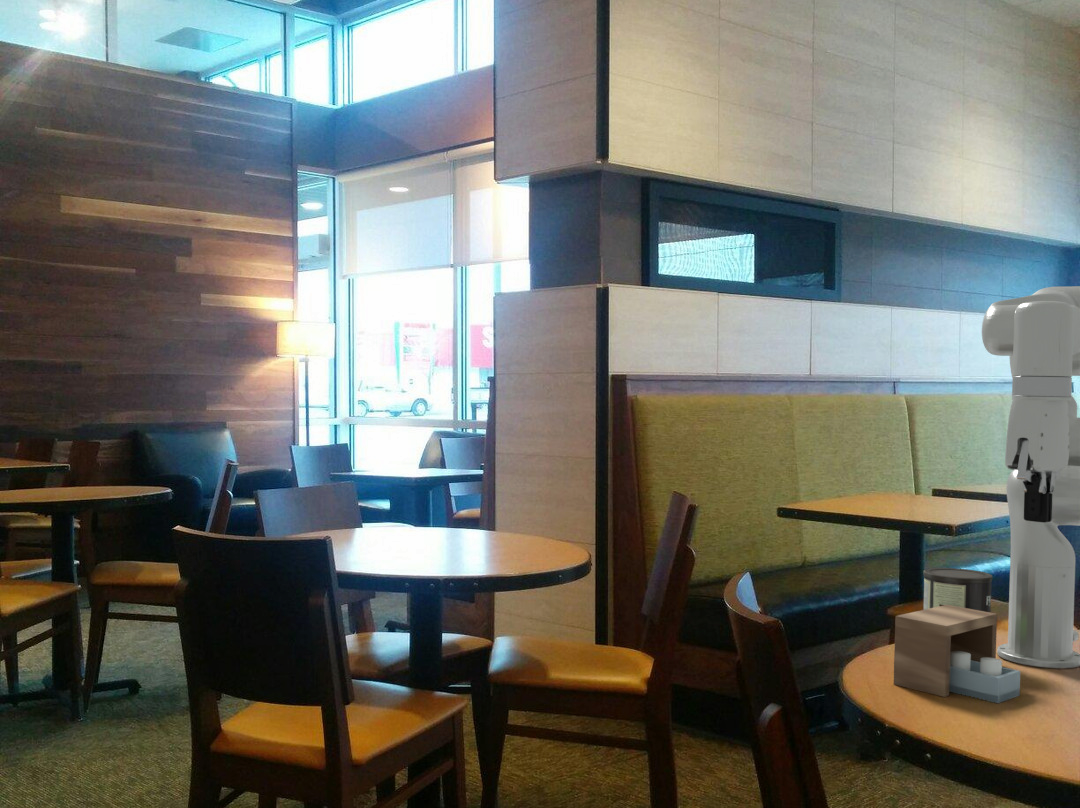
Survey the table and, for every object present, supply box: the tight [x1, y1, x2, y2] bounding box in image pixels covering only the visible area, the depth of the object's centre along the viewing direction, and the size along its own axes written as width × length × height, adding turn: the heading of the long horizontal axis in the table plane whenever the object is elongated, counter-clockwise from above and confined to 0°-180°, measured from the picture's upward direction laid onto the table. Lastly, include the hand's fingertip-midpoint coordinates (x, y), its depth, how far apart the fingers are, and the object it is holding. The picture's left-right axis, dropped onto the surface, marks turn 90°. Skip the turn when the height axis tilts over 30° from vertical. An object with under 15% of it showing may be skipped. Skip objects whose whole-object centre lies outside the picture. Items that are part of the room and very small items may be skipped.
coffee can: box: [923, 567, 993, 613], centre depth 172 cm, size 10×10×14 cm
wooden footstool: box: [893, 605, 998, 698], centre depth 158 cm, size 14×8×10 cm, turn 130°
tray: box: [949, 651, 1021, 704], centre depth 154 cm, size 6×10×5 cm, turn 41°
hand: (1037, 520), depth 150 cm, fingers closed
